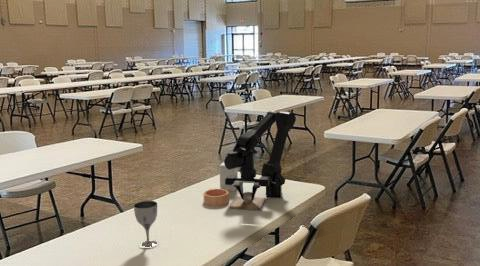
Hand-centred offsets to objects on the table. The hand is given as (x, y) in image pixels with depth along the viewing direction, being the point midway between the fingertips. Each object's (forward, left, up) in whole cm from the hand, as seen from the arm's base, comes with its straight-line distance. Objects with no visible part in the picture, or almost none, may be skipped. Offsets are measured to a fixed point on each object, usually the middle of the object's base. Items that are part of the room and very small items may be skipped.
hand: (248, 199), depth 201 cm
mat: (0, 0, -2) cm, 2 cm away
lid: (0, 0, -2) cm, 2 cm away
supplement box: (+14, -20, -3) cm, 24 cm away
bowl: (+15, -1, -2) cm, 15 cm away
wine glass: (+27, +45, -2) cm, 52 cm away
